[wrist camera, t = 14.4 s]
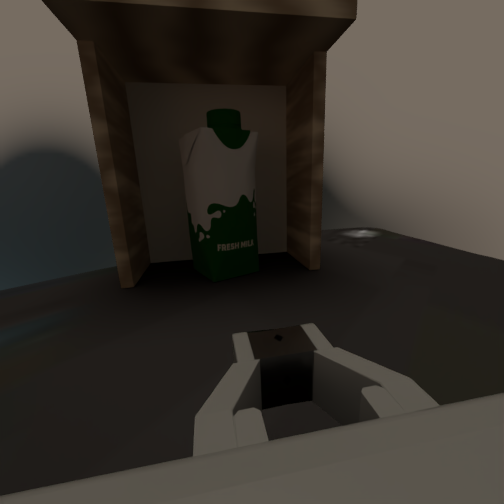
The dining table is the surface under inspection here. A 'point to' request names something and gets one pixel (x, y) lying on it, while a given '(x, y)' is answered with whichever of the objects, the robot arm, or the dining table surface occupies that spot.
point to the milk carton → (221, 195)
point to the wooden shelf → (205, 111)
